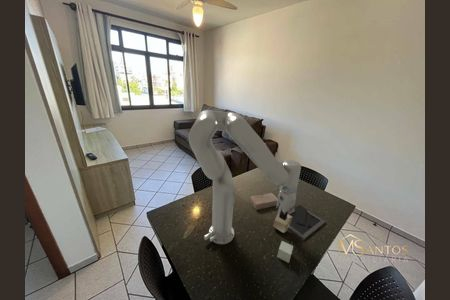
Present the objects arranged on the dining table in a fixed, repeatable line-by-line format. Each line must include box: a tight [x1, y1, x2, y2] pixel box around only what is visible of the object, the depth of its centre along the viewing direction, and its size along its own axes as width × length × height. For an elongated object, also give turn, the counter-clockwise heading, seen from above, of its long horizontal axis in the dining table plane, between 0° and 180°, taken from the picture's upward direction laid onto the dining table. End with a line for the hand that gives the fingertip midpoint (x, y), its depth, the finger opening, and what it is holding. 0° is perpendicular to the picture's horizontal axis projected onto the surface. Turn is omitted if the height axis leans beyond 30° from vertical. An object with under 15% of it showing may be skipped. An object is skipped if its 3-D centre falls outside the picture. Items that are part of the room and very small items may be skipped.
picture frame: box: [287, 204, 326, 241], centre depth 97 cm, size 16×2×21 cm
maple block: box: [272, 212, 292, 234], centre depth 90 cm, size 5×6×8 cm
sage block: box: [276, 240, 294, 264], centre depth 77 cm, size 5×5×5 cm
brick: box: [249, 192, 278, 211], centre depth 110 cm, size 17×8×5 cm, turn 110°
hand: (282, 218), depth 87 cm, fingers closed
